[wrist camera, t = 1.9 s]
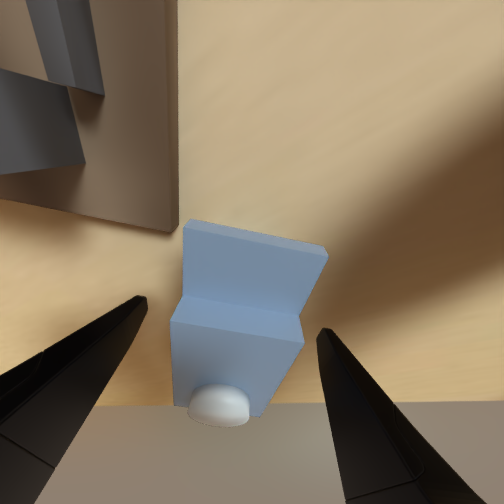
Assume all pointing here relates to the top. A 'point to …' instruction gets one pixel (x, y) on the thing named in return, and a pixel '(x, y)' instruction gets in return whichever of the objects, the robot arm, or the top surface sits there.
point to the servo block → (238, 319)
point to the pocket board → (91, 108)
